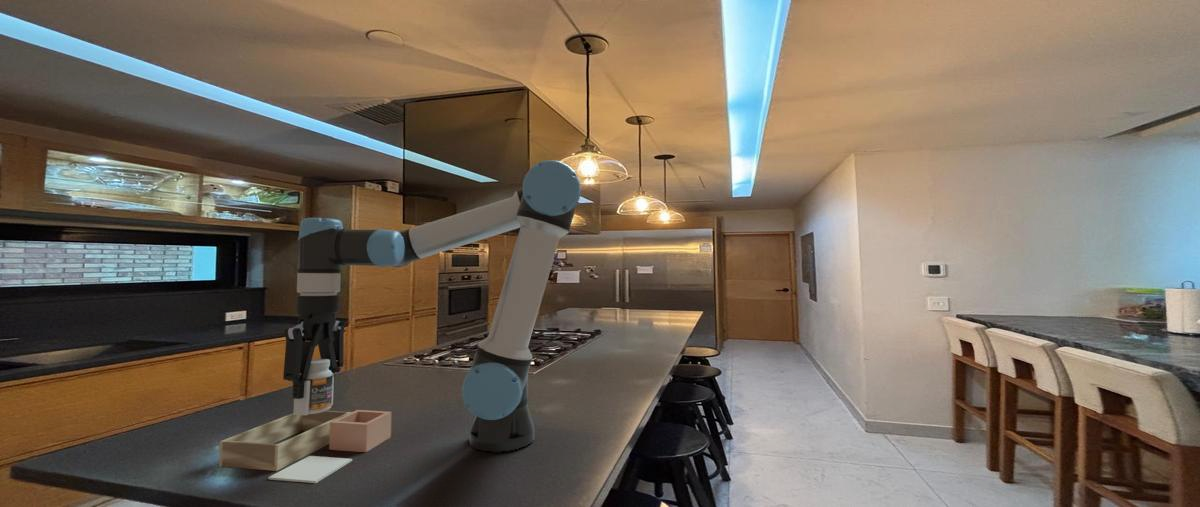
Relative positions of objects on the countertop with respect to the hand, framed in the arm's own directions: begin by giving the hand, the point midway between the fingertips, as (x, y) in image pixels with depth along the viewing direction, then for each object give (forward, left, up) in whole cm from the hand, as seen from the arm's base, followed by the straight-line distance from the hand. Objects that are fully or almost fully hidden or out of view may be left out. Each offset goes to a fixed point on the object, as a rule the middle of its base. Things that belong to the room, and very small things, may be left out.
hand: (313, 409), depth 90 cm
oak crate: (+13, -9, -12) cm, 20 cm away
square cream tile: (0, 0, -12) cm, 12 cm away
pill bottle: (0, 0, 0) cm, 1 cm away
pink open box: (-1, -14, -12) cm, 18 cm away
